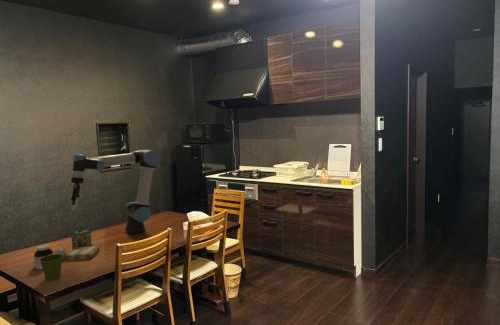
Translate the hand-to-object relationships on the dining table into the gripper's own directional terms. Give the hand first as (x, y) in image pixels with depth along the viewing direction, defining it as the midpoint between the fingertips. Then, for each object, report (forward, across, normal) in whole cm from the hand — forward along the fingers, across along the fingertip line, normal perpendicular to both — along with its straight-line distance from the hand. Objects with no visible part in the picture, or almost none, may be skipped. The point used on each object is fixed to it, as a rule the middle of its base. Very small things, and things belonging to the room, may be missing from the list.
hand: (74, 208), depth 256 cm
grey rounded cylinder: (+30, +18, -2) cm, 35 cm away
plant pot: (+32, +50, -2) cm, 59 cm away
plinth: (+27, +17, +10) cm, 34 cm away
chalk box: (+27, 0, +8) cm, 28 cm away
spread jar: (+32, +29, -10) cm, 44 cm away
